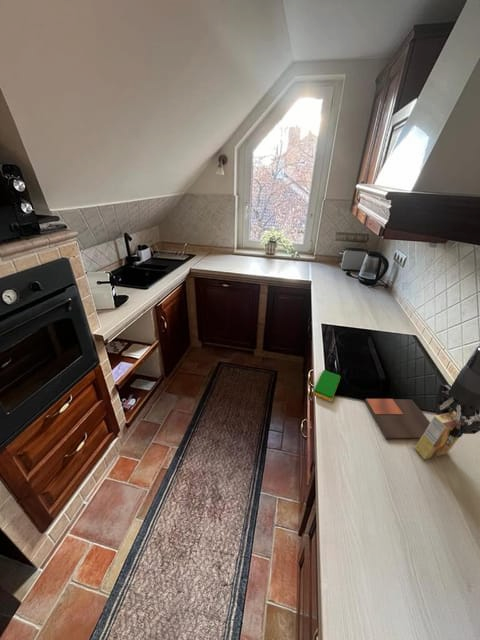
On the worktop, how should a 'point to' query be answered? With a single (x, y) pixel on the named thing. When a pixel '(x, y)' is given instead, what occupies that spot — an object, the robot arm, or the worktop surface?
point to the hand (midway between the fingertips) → (446, 427)
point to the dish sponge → (327, 385)
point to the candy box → (438, 436)
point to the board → (398, 418)
